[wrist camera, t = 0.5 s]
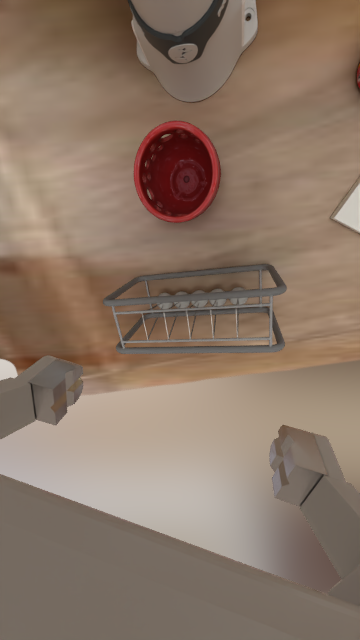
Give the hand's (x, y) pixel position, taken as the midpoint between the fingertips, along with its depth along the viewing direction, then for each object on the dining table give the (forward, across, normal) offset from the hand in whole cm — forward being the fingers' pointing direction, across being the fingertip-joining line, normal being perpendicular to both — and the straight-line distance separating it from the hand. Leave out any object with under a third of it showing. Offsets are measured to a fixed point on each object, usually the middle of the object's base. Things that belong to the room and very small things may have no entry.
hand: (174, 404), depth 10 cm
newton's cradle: (+45, +2, +10) cm, 46 cm away
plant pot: (+45, +10, -10) cm, 47 cm away
